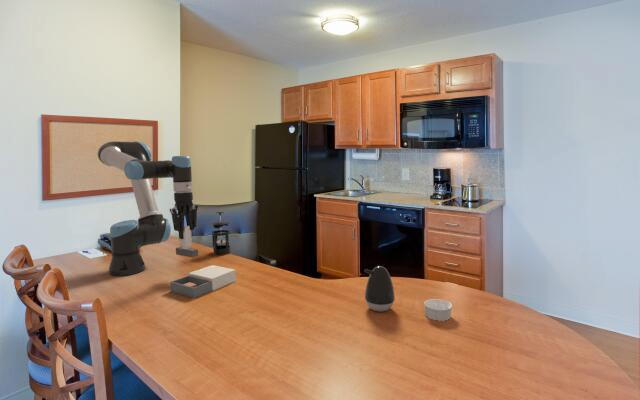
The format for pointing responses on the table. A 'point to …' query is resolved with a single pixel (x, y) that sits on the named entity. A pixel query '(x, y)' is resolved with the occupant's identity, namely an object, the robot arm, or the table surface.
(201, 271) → the plate
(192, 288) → the box
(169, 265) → the table surface
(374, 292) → the pump dispenser
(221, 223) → the french press
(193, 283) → the tile
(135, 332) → the table surface
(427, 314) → the ramekin
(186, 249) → the scraper
